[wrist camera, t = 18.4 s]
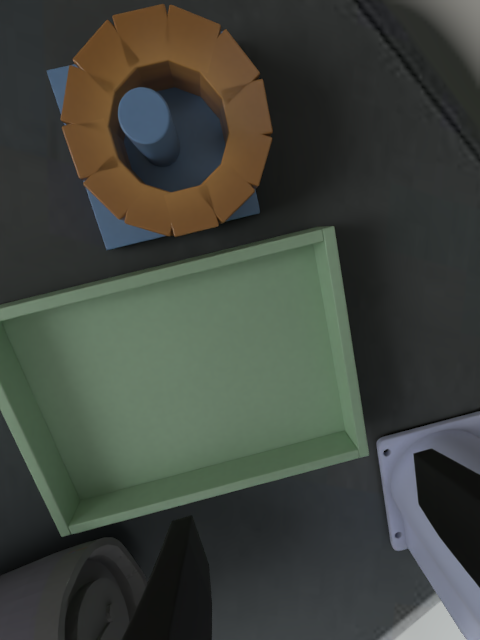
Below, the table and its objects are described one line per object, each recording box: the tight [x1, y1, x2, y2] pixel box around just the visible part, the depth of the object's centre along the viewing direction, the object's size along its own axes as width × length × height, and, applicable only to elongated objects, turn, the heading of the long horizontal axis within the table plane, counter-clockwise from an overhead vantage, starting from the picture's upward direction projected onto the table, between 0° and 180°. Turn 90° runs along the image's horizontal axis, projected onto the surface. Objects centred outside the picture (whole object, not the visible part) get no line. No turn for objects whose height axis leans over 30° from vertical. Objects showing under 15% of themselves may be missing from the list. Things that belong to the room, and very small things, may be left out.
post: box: [47, 31, 260, 250], centre depth 14 cm, size 8×8×6 cm
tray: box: [0, 226, 369, 537], centre depth 19 cm, size 18×13×3 cm
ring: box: [61, 4, 273, 237], centre depth 15 cm, size 8×8×3 cm
